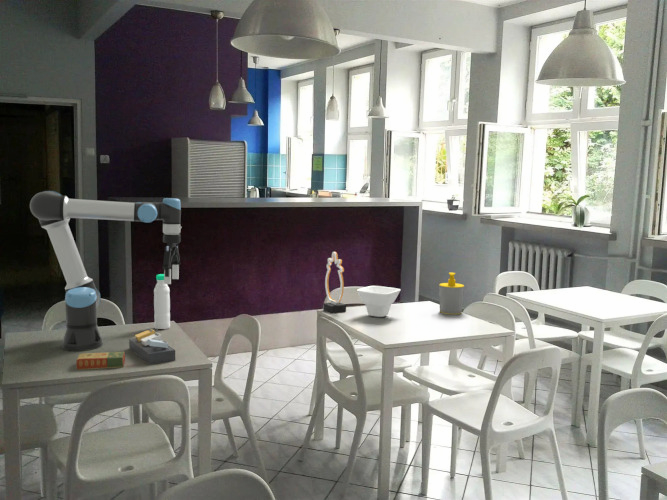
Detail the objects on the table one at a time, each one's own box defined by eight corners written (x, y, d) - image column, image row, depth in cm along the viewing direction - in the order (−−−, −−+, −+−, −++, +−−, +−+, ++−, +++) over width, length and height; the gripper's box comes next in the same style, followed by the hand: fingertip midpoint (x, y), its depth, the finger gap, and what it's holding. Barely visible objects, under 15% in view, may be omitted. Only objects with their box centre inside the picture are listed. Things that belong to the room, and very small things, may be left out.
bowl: (402, 315, 319) (403, 288, 318) (385, 322, 303) (386, 294, 301) (371, 310, 329) (372, 285, 327) (352, 317, 313) (353, 290, 311)
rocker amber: (139, 341, 244) (137, 337, 244) (135, 339, 248) (134, 334, 247) (155, 334, 248) (154, 330, 247) (152, 332, 251) (151, 328, 251)
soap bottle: (437, 313, 324) (439, 274, 322) (438, 308, 337) (440, 270, 334) (462, 315, 321) (464, 275, 319) (463, 310, 334) (464, 271, 331)
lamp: (350, 313, 322) (351, 253, 319) (335, 314, 318) (336, 254, 314) (333, 307, 336) (334, 249, 333) (319, 308, 332) (320, 250, 328)
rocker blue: (150, 345, 232) (151, 340, 232) (146, 343, 235) (147, 338, 235) (167, 348, 236) (168, 343, 236) (164, 345, 239) (165, 340, 239)
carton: (80, 363, 230) (80, 352, 229) (125, 361, 233) (125, 350, 233) (76, 370, 222) (76, 358, 221) (123, 368, 225) (123, 356, 225)
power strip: (149, 364, 229) (149, 351, 229) (123, 344, 256) (123, 332, 255) (175, 360, 235) (175, 347, 234) (147, 340, 262) (147, 329, 261)
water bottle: (172, 326, 287) (171, 273, 284) (167, 330, 280) (166, 276, 277) (157, 326, 288) (157, 273, 285) (152, 329, 281) (151, 275, 278)
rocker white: (145, 345, 238) (143, 341, 238) (141, 343, 241) (140, 339, 241) (162, 338, 242) (160, 334, 241) (158, 336, 245) (157, 332, 245)
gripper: (173, 236, 257) (172, 286, 260) (186, 231, 282) (186, 277, 284) (155, 235, 257) (155, 285, 260) (170, 231, 282) (170, 276, 284)
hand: (171, 281), depth 272 cm, fingers open, 13 cm apart
